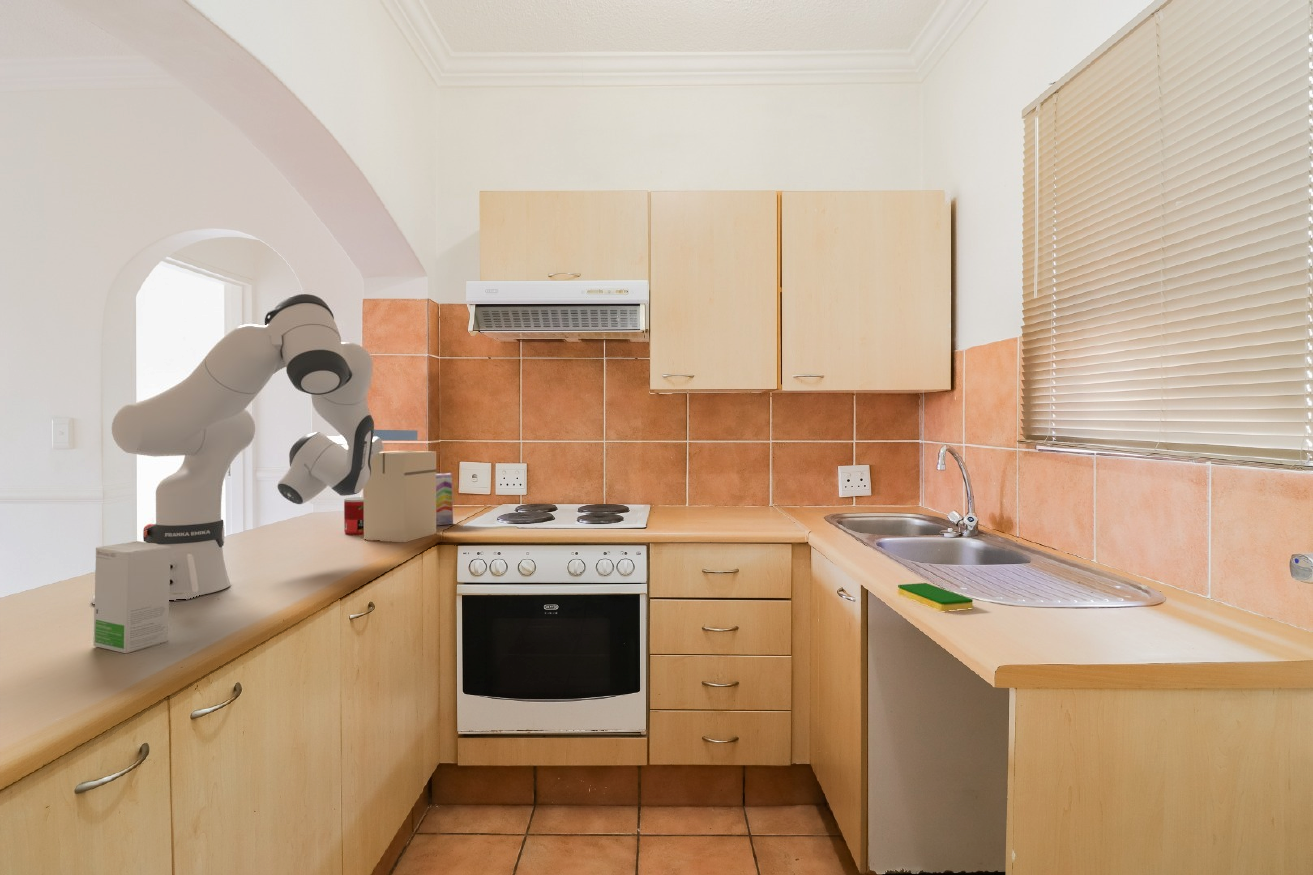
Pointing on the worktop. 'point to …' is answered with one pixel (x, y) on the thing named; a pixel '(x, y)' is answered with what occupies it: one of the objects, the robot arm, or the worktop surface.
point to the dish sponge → (935, 596)
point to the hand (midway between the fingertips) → (362, 432)
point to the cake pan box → (444, 499)
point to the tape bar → (396, 434)
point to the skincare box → (131, 596)
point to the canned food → (354, 516)
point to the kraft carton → (400, 496)
